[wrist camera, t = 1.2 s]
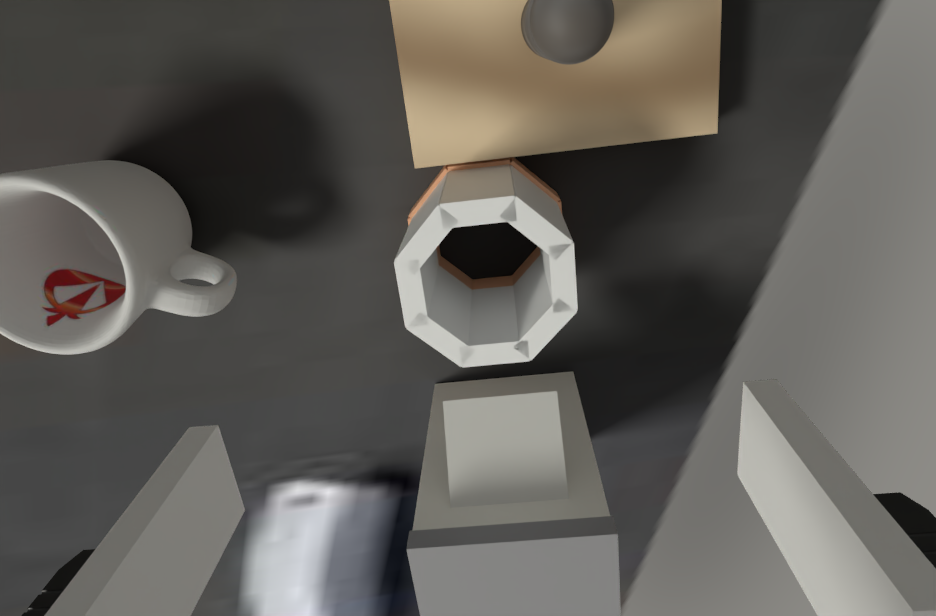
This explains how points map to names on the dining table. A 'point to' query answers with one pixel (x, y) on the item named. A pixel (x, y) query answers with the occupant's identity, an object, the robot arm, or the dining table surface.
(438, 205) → the sleeve
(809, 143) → the dining table surface
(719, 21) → the pin board
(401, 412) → the dining table surface
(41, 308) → the cup
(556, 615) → the box
